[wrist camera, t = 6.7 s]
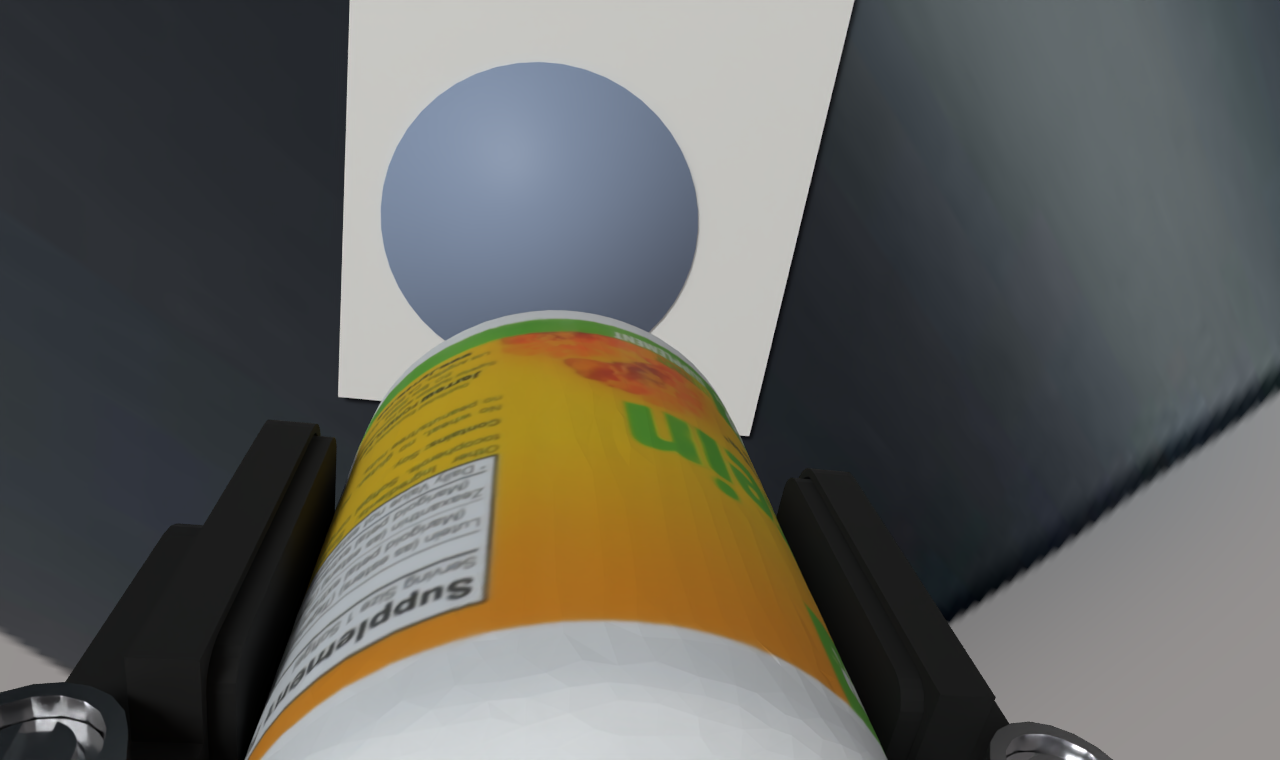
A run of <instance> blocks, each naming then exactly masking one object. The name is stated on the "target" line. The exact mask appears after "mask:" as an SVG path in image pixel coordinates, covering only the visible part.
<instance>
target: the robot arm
mask: <svg viewBox="0 0 1280 760" xmlns="http://www.w3.org/2000/svg"><path fill="white" fill-rule="evenodd" d="M335 482H336V439H335V438H334V437H323V436H320V428H319V425H318V424H312V423H301V422H290V421H279V420H267V421H266V423H265V424H264V426H263V427H262V429H261V431H260V432H259V434H258V436H257V437H256V439H255V441H254V442H253V444H252V446H251V447H250V449H249V450H248V452H247V454H246V455H245V457H244V459H243V460H242V462H241V464H240V465H239V467H238V469H237V470H236V472H235V474H234V475H233V477H232V479H231V480H230V482H229V484H228V485H227V487H226V489H225V490H224V492H223V494H222V495H221V497H220V499H219V500H218V502H217V504H216V505H215V507H214V509H213V510H212V512H211V514H210V515H209V517H208V519H207V520H206V522H205V524H204V525H190V524H175V525H172V526H170V527H169V528H168V530H167V531H166V532H165V533H164V534H163V536H162V537H161V539H160V540H159V542H158V543H157V545H156V546H155V548H154V549H153V551H152V552H151V554H150V555H149V557H148V558H147V560H146V561H145V563H144V564H143V566H142V567H141V569H140V570H139V572H138V573H137V575H136V576H135V578H134V579H133V581H132V582H131V584H130V585H129V587H128V588H127V590H126V591H125V593H124V594H123V596H122V597H121V599H120V600H119V602H118V603H117V605H116V606H115V608H114V609H113V611H112V612H111V614H110V615H109V617H108V618H107V620H106V621H105V623H104V625H103V626H102V628H101V629H100V631H99V632H98V634H97V635H96V637H95V638H94V640H93V641H92V643H91V644H90V646H89V647H88V649H87V650H86V652H85V653H84V655H83V656H82V658H81V659H80V661H79V662H78V664H77V665H76V667H75V668H74V670H73V671H72V673H71V674H70V676H69V677H68V679H67V680H66V682H59V683H45V684H33V685H29V686H24V687H21V688H17V689H13V690H8V691H4V692H0V760H245V757H246V754H247V752H248V749H249V746H250V744H251V741H252V738H253V736H254V733H255V730H256V728H257V725H258V723H259V720H260V717H261V715H262V712H263V709H264V706H265V704H266V701H267V698H268V695H269V692H270V689H271V687H272V684H273V681H274V678H275V675H276V672H277V670H278V667H279V664H280V661H281V659H282V656H283V653H284V651H285V648H286V645H287V642H288V640H289V637H290V634H291V632H292V629H293V626H294V623H295V619H296V617H297V614H298V612H299V609H300V607H301V604H302V602H303V599H304V596H305V593H306V590H307V587H308V584H309V581H310V579H311V576H312V573H313V570H314V567H315V565H316V562H317V559H318V556H319V554H320V551H321V548H322V545H323V543H324V540H325V537H326V535H327V532H328V529H329V527H330V524H331V522H332V519H333V516H334V513H335ZM776 518H777V521H778V523H779V525H780V527H781V530H782V532H783V534H784V536H785V538H786V540H787V543H788V545H789V547H790V549H791V551H792V553H793V556H794V558H795V560H796V562H797V565H798V567H799V569H800V571H801V574H802V576H803V578H804V580H805V582H806V585H807V587H808V589H809V591H810V593H811V595H812V597H813V599H814V601H815V603H816V605H817V607H818V609H819V612H820V614H821V616H822V618H823V620H824V623H825V625H826V627H827V629H828V631H829V634H830V636H831V638H832V640H833V642H834V645H835V647H836V649H837V651H838V653H839V656H840V658H841V660H842V662H843V664H844V667H845V669H846V671H847V673H848V675H849V677H850V679H851V681H852V683H853V686H854V688H855V690H856V692H857V694H858V697H859V699H860V701H861V703H862V705H863V708H864V710H865V712H866V714H867V716H868V718H869V721H870V723H871V725H872V727H873V729H874V731H875V733H876V735H877V737H878V739H879V741H880V744H881V746H882V748H883V751H884V753H885V755H886V757H887V760H1113V759H1111V758H1110V757H1109V756H1108V755H1106V754H1105V753H1104V752H1102V751H1101V750H1100V749H1099V748H1097V747H1096V746H1094V745H1092V744H1090V743H1089V742H1087V741H1085V740H1083V739H1082V738H1080V737H1078V736H1076V735H1075V734H1072V733H1069V732H1067V731H1064V730H1062V729H1059V728H1056V727H1054V726H1051V725H1045V724H1039V723H1034V722H1022V723H1011V724H1009V723H1008V721H1007V719H1006V718H1005V716H1004V715H1003V713H1002V712H1001V710H1000V708H999V707H998V706H997V704H996V702H995V701H994V700H995V696H994V694H993V692H992V691H991V689H990V688H989V686H988V685H987V683H986V682H985V680H984V679H983V677H982V675H981V674H980V672H979V671H978V669H977V668H976V666H975V665H974V663H973V661H972V660H971V658H970V657H969V655H968V654H967V652H966V651H965V649H964V648H963V646H962V644H961V643H960V641H959V640H958V638H957V637H956V635H955V634H954V632H953V630H952V629H951V627H950V626H949V624H948V623H947V621H946V620H945V618H944V617H943V615H942V613H941V612H940V610H939V609H938V607H937V606H936V604H935V603H934V601H933V599H932V598H931V596H930V595H929V593H928V592H927V590H926V589H925V587H924V586H923V584H922V582H921V581H920V579H919V578H918V576H917V575H916V573H915V572H914V570H913V568H912V567H911V565H910V564H909V562H908V561H907V559H906V558H905V556H904V554H903V553H902V551H901V550H900V548H899V547H898V545H897V544H896V542H895V541H894V539H893V537H892V536H891V534H890V533H889V531H888V530H887V528H886V527H885V525H884V523H883V522H882V520H881V519H880V517H879V516H878V514H877V513H876V511H875V510H874V508H873V506H872V505H871V503H870V502H869V500H868V499H867V497H866V496H865V494H864V492H863V491H862V489H861V488H860V486H859V485H858V483H857V482H856V480H855V479H854V477H853V476H852V475H851V474H850V473H849V472H842V471H831V470H820V469H809V468H806V469H805V470H804V471H803V472H802V473H801V475H800V477H799V479H798V478H790V479H789V480H788V481H787V483H786V485H785V488H784V491H783V495H782V498H781V502H780V506H779V510H778V514H777V517H776Z"/></svg>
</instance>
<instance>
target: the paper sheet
mask: <svg viewBox="0 0 1280 760" xmlns="http://www.w3.org/2000/svg"><path fill="white" fill-rule="evenodd" d="M853 4H854V0H350V14H349V48H348V81H347V115H346V149H345V183H344V217H343V250H342V284H341V318H340V352H339V386H338V397H346V398H356V399H367V400H377V401H382V400H383V398H384V397H385V395H386V394H387V392H388V391H389V390H390V388H391V387H392V386H393V385H394V383H395V382H396V381H397V380H398V379H399V378H400V377H401V376H402V374H403V373H404V372H405V371H406V370H407V369H408V368H409V367H410V366H411V365H412V364H414V363H415V362H416V361H417V360H418V359H420V358H421V357H422V356H423V355H425V354H426V353H427V352H429V351H430V350H431V349H433V348H434V347H436V346H437V345H439V344H440V343H442V342H444V341H446V340H447V339H449V338H451V337H453V336H455V335H457V334H459V333H460V332H462V331H464V330H467V329H469V328H471V327H474V326H476V325H479V324H481V323H483V322H486V321H489V320H493V319H496V318H500V317H503V316H507V315H513V314H518V313H525V312H531V311H544V310H567V311H578V312H585V313H591V314H597V315H601V316H605V317H610V318H613V319H616V320H619V321H623V322H625V323H628V324H630V325H633V326H636V327H638V328H640V329H642V330H644V331H646V332H649V333H651V334H653V335H654V336H656V337H658V338H659V339H661V340H663V341H664V342H666V343H667V344H668V345H670V346H671V347H673V348H674V349H676V350H677V351H679V352H680V353H681V354H682V355H683V356H685V357H686V358H687V359H688V360H689V361H690V362H692V363H693V364H694V365H695V367H696V368H697V369H698V370H699V371H700V372H701V373H702V374H703V375H704V376H705V378H706V379H707V380H708V382H709V383H710V384H711V386H712V387H713V388H714V390H715V391H716V393H717V394H718V396H719V398H720V399H721V401H722V403H723V404H724V406H725V408H726V410H727V412H728V414H729V416H730V418H731V420H732V421H733V423H734V425H735V427H736V429H737V431H738V433H739V435H742V436H749V435H750V431H751V427H752V423H753V419H754V415H755V410H756V406H757V402H758V398H759V394H760V390H761V386H762V381H763V377H764V373H765V369H766V365H767V361H768V357H769V352H770V348H771V344H772V340H773V336H774V332H775V328H776V323H777V319H778V315H779V311H780V307H781V303H782V298H783V294H784V290H785V286H786V282H787V278H788V274H789V269H790V265H791V261H792V257H793V253H794V249H795V245H796V240H797V236H798V232H799V228H800V224H801V220H802V216H803V211H804V207H805V203H806V199H807V195H808V191H809V187H810V182H811V178H812V174H813V170H814V166H815V162H816V158H817V153H818V149H819V145H820V141H821V137H822V133H823V128H824V124H825V120H826V116H827V112H828V108H829V104H830V99H831V95H832V91H833V87H834V83H835V79H836V75H837V70H838V66H839V62H840V58H841V54H842V50H843V46H844V41H845V37H846V33H847V29H848V25H849V21H850V17H851V12H852V8H853Z"/></svg>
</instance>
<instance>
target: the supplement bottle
mask: <svg viewBox="0 0 1280 760" xmlns="http://www.w3.org/2000/svg"><path fill="white" fill-rule="evenodd" d="M245 760H887V757H886V755H885V753H884V751H883V748H882V746H881V744H880V741H879V739H878V737H877V735H876V733H875V731H874V729H873V727H872V725H871V723H870V721H869V718H868V716H867V714H866V712H865V710H864V708H863V705H862V703H861V701H860V699H859V697H858V694H857V692H856V690H855V688H854V686H853V683H852V681H851V679H850V677H849V675H848V673H847V671H846V669H845V667H844V664H843V662H842V660H841V658H840V656H839V653H838V651H837V649H836V647H835V645H834V642H833V640H832V638H831V636H830V634H829V631H828V629H827V627H826V625H825V623H824V620H823V618H822V616H821V614H820V612H819V609H818V607H817V605H816V603H815V601H814V599H813V597H812V595H811V593H810V591H809V589H808V587H807V585H806V582H805V580H804V578H803V576H802V574H801V571H800V569H799V567H798V565H797V562H796V560H795V558H794V556H793V553H792V551H791V549H790V547H789V545H788V543H787V540H786V538H785V536H784V534H783V532H782V530H781V527H780V525H779V523H778V521H777V518H776V516H775V514H774V511H773V509H772V507H771V504H770V502H769V500H768V498H767V495H766V493H765V491H764V489H763V487H762V485H761V482H760V480H759V478H758V476H757V473H756V471H755V469H754V467H753V465H752V463H751V461H750V459H749V456H748V454H747V451H746V449H745V447H744V444H743V442H742V440H741V437H740V435H739V433H738V431H737V429H736V427H735V425H734V423H733V421H732V420H731V418H730V416H729V414H728V412H727V410H726V408H725V406H724V404H723V403H722V401H721V399H720V398H719V396H718V394H717V393H716V391H715V390H714V388H713V387H712V386H711V384H710V383H709V382H708V380H707V379H706V378H705V376H704V375H703V374H702V373H701V372H700V371H699V370H698V369H697V368H696V367H695V365H694V364H693V363H692V362H690V361H689V360H688V359H687V358H686V357H685V356H683V355H682V354H681V353H680V352H679V351H677V350H676V349H674V348H673V347H671V346H670V345H668V344H667V343H666V342H664V341H663V340H661V339H659V338H658V337H656V336H654V335H653V334H651V333H649V332H646V331H644V330H642V329H640V328H638V327H636V326H633V325H630V324H628V323H625V322H623V321H619V320H616V319H613V318H610V317H605V316H601V315H597V314H591V313H585V312H578V311H567V310H544V311H531V312H525V313H518V314H513V315H507V316H503V317H500V318H496V319H493V320H489V321H486V322H483V323H481V324H479V325H476V326H474V327H471V328H469V329H467V330H464V331H462V332H460V333H459V334H457V335H455V336H453V337H451V338H449V339H447V340H446V341H444V342H442V343H440V344H439V345H437V346H436V347H434V348H433V349H431V350H430V351H429V352H427V353H426V354H425V355H423V356H422V357H421V358H420V359H418V360H417V361H416V362H415V363H414V364H412V365H411V366H410V367H409V368H408V369H407V370H406V371H405V372H404V373H403V374H402V376H401V377H400V378H399V379H398V380H397V381H396V382H395V383H394V385H393V386H392V387H391V388H390V390H389V391H388V392H387V394H386V395H385V397H384V398H383V400H382V401H381V403H380V405H379V407H378V408H377V410H376V412H375V414H374V416H373V418H372V420H371V422H370V424H369V427H368V429H367V431H366V433H365V435H364V437H363V440H362V442H361V444H360V446H359V448H358V451H357V454H356V456H355V459H354V462H353V465H352V467H351V470H350V473H349V476H348V479H347V481H346V484H345V487H344V489H343V492H342V494H341V497H340V499H339V502H338V505H337V508H336V510H335V513H334V516H333V519H332V522H331V524H330V527H329V529H328V532H327V535H326V537H325V540H324V543H323V545H322V548H321V551H320V554H319V556H318V559H317V562H316V565H315V567H314V570H313V573H312V576H311V579H310V581H309V584H308V587H307V590H306V593H305V596H304V599H303V602H302V604H301V607H300V609H299V612H298V614H297V617H296V619H295V623H294V626H293V629H292V632H291V634H290V637H289V640H288V642H287V645H286V648H285V651H284V653H283V656H282V659H281V661H280V664H279V667H278V670H277V672H276V675H275V678H274V681H273V684H272V687H271V689H270V692H269V695H268V698H267V701H266V704H265V706H264V709H263V712H262V715H261V717H260V720H259V723H258V725H257V728H256V730H255V733H254V736H253V738H252V741H251V744H250V746H249V749H248V752H247V754H246V757H245Z"/></svg>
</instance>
